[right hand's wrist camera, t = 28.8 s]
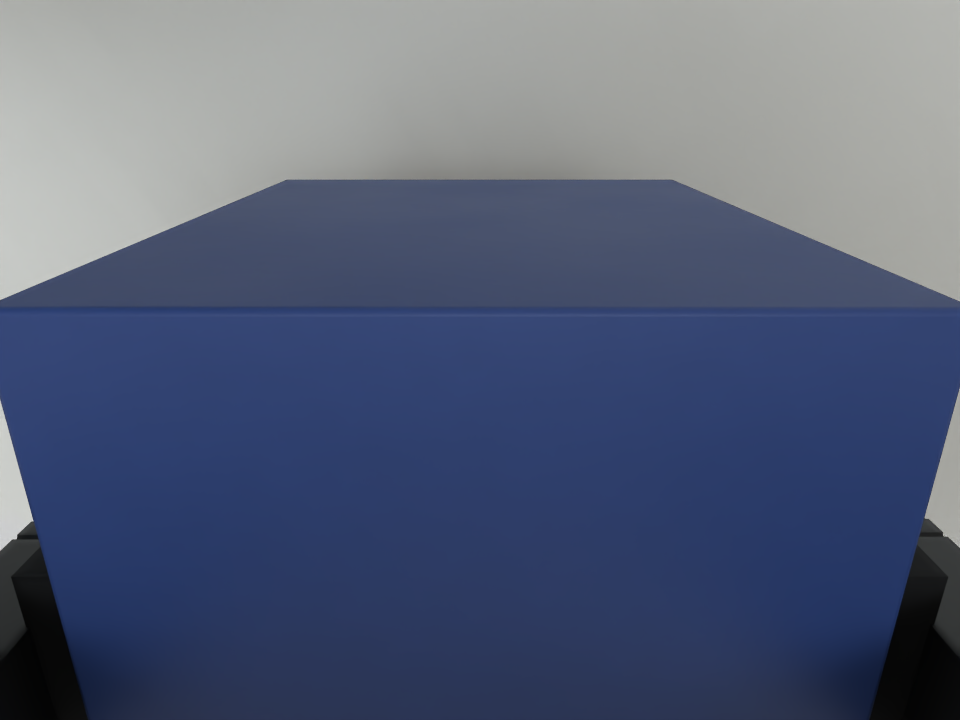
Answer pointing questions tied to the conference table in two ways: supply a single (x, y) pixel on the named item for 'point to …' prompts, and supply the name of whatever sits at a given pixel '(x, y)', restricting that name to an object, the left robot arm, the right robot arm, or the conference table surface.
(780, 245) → the block
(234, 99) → the conference table surface
